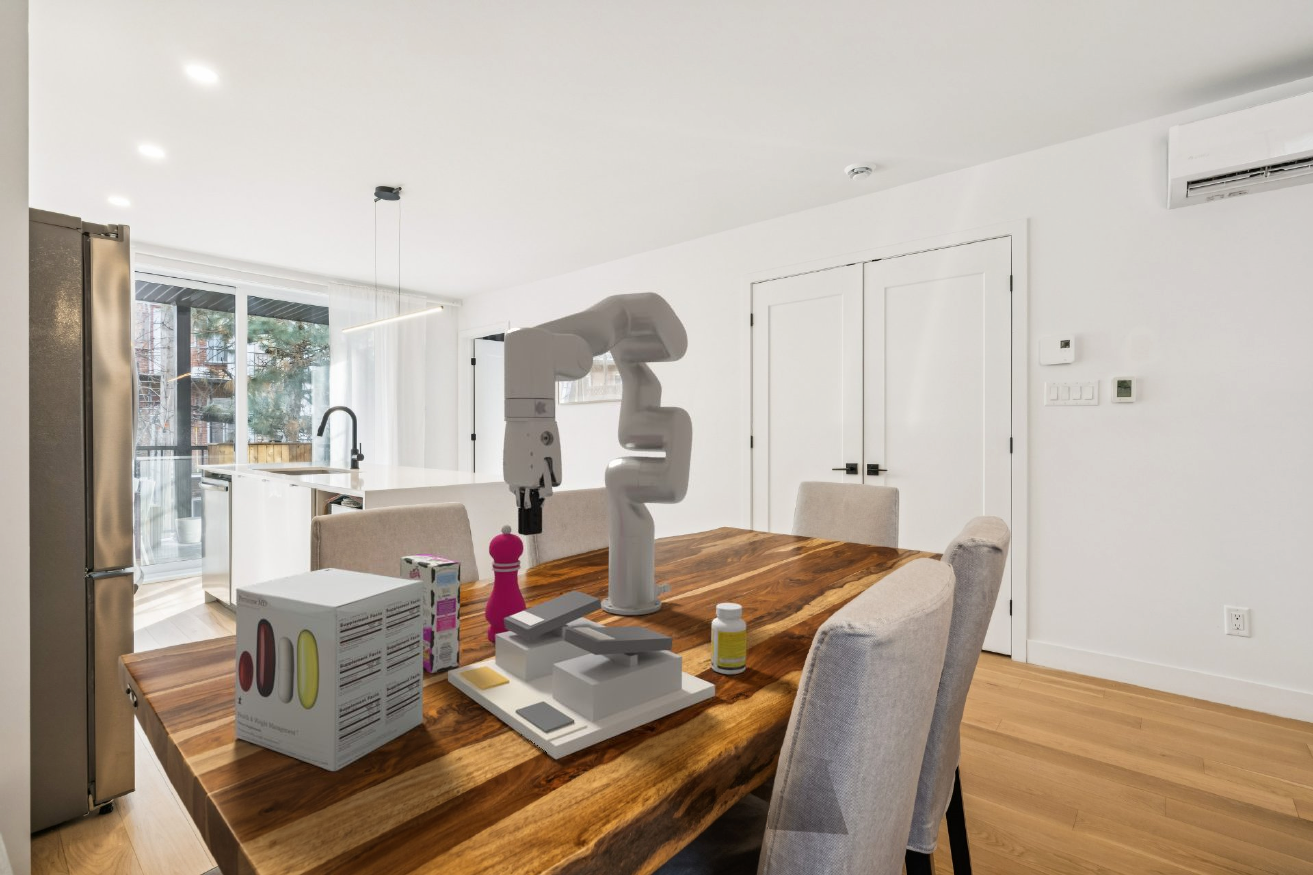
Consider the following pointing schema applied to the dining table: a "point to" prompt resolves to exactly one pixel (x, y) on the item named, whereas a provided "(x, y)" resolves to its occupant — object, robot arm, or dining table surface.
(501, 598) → the pepper mill
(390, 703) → the supplement box
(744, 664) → the supplement bottle
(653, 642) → the plain switch
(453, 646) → the candy bar box
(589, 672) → the switch unit
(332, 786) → the dining table surface
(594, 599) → the marked switch
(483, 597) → the dining table surface
